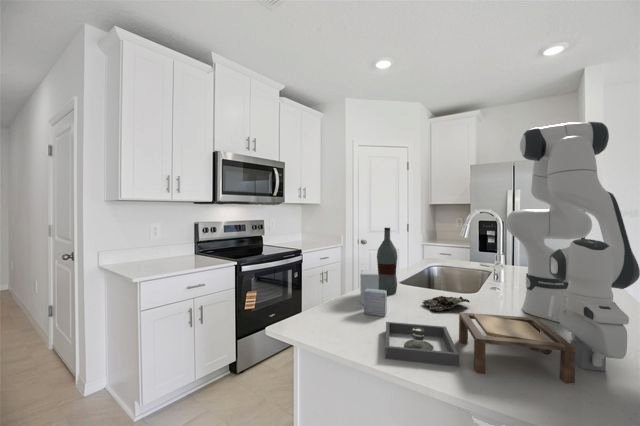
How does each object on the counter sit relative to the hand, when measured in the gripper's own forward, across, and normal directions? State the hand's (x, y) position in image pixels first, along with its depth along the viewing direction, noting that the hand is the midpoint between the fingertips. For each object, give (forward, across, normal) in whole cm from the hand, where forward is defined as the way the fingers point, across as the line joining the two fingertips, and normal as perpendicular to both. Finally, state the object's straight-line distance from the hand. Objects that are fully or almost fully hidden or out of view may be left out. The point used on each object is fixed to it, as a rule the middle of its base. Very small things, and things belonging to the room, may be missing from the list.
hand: (587, 358), depth 77 cm
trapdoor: (-3, +1, -18) cm, 19 cm away
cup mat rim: (+2, -1, -41) cm, 41 cm away
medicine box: (+2, -25, -54) cm, 59 cm away
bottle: (+2, -54, -50) cm, 74 cm away
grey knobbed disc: (+2, -1, -41) cm, 41 cm away
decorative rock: (+2, -40, -27) cm, 48 cm away
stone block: (+2, 0, 0) cm, 2 cm away
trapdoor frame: (+2, +1, -18) cm, 18 cm away
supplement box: (+2, -38, -57) cm, 68 cm away
